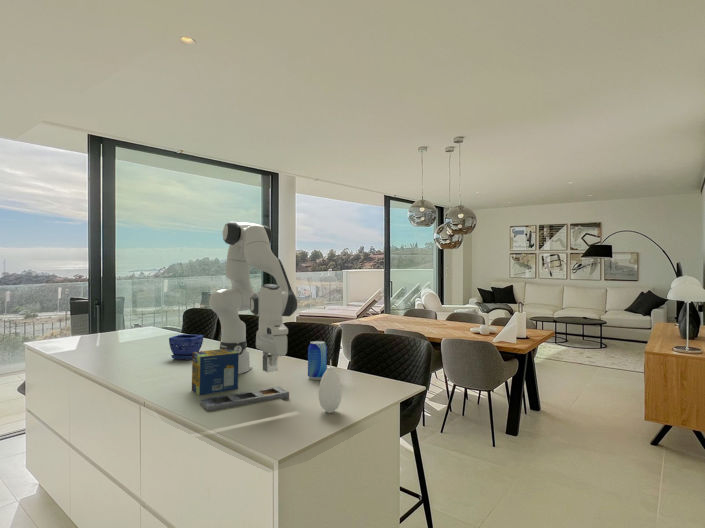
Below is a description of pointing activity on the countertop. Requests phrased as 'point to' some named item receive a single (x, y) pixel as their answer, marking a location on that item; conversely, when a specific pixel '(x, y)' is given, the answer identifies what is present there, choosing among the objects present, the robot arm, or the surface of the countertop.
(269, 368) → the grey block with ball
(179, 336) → the flower pot
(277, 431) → the countertop surface
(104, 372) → the countertop surface
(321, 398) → the white teardrop vase
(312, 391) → the countertop surface
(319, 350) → the beer can
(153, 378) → the countertop surface
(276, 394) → the grey compartment tray
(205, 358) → the protein box
